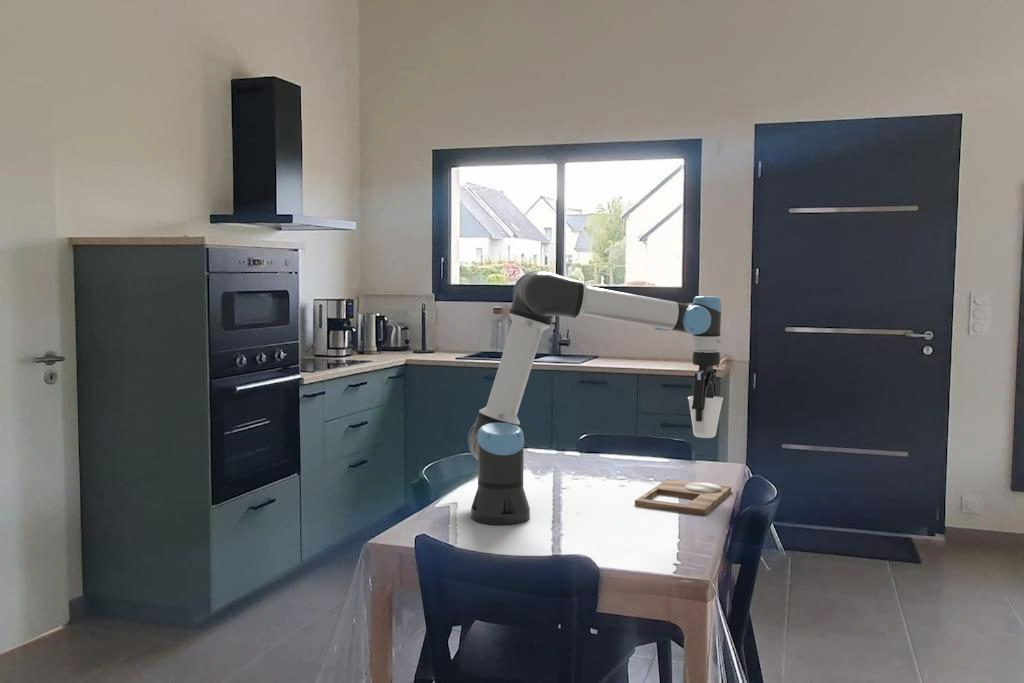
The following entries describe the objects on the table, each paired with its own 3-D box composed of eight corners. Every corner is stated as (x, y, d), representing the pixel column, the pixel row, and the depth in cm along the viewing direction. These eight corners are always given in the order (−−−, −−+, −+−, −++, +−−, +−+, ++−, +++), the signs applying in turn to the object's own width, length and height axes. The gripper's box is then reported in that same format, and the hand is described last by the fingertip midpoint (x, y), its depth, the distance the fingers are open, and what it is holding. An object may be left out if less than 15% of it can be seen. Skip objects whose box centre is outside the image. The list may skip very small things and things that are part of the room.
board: (704, 515, 227) (704, 507, 227) (634, 505, 236) (634, 498, 236) (731, 491, 252) (731, 485, 252) (667, 484, 261) (667, 477, 261)
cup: (686, 438, 244) (687, 399, 244) (686, 432, 254) (687, 394, 253) (723, 440, 243) (724, 400, 242) (721, 433, 252) (722, 395, 251)
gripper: (708, 354, 235) (707, 437, 237) (729, 348, 254) (727, 425, 256) (681, 353, 239) (680, 434, 240) (704, 347, 258) (702, 422, 260)
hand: (704, 429), depth 248 cm, fingers closed on cup, 9 cm apart
